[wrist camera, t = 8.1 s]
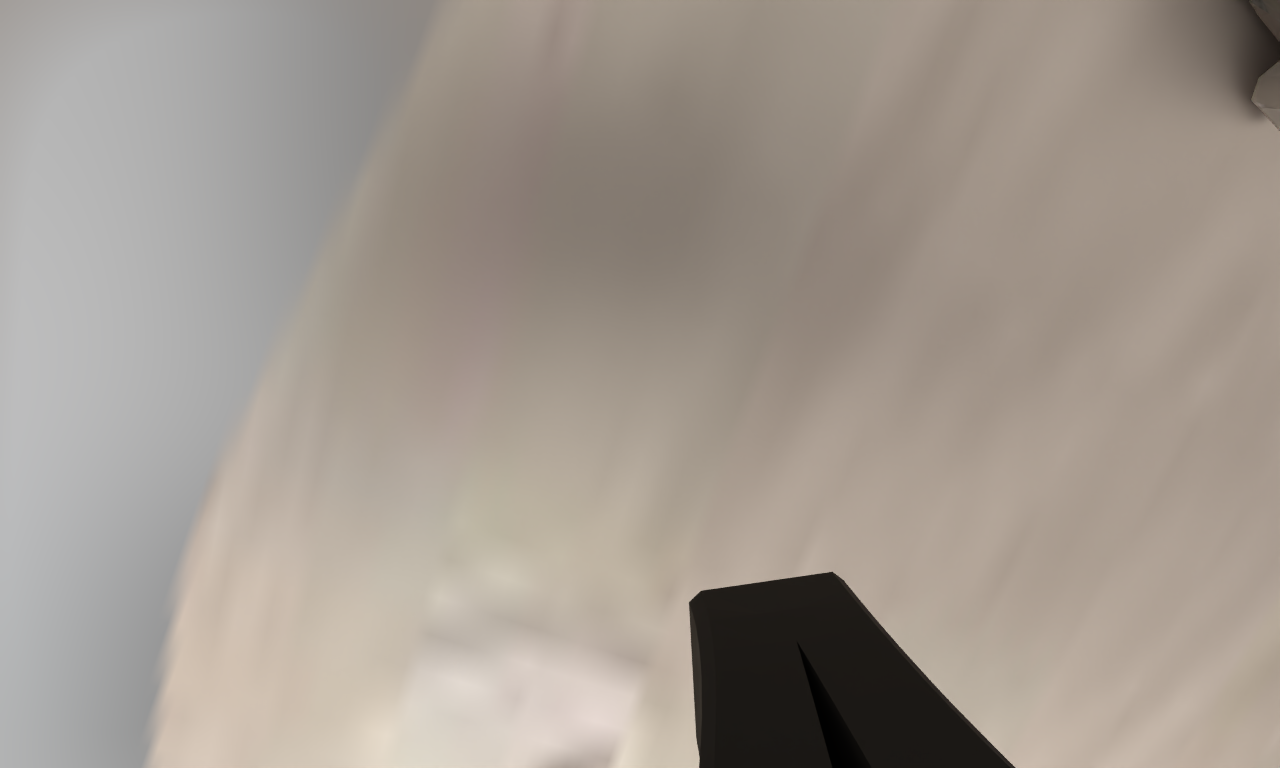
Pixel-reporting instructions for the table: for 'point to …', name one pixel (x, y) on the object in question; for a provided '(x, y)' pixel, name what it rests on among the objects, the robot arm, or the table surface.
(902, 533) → the table surface
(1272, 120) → the electrical switch
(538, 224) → the table surface
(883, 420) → the table surface
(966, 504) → the table surface
